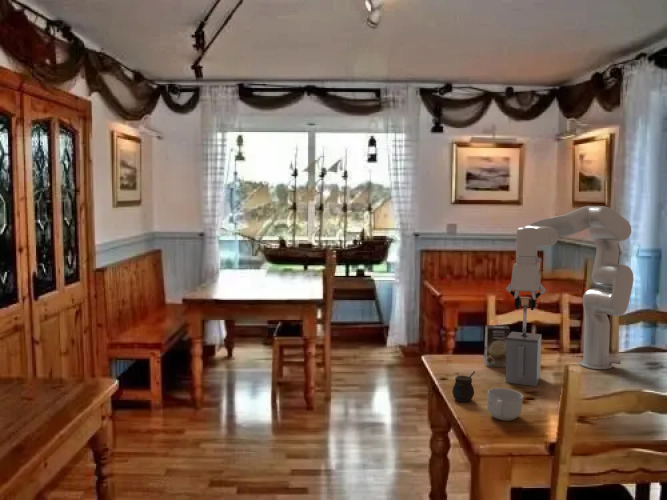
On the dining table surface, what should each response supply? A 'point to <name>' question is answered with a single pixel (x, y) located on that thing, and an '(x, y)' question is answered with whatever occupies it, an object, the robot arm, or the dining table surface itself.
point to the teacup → (504, 403)
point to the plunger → (525, 311)
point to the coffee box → (496, 345)
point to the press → (523, 358)
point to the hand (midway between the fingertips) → (525, 308)
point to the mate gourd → (463, 388)
